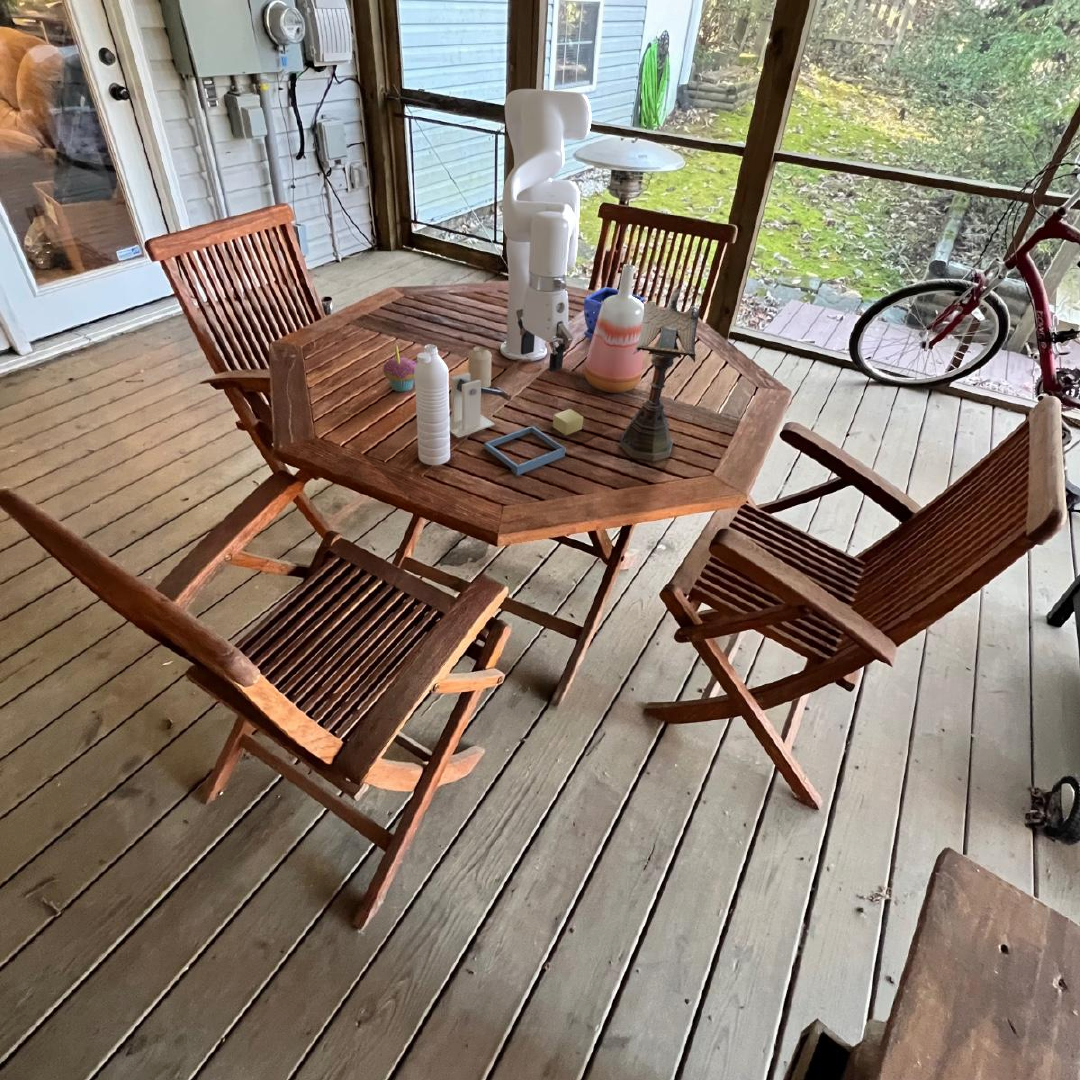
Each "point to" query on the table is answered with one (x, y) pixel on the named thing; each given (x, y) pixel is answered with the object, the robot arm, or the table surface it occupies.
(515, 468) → the dish
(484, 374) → the candle
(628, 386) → the vase
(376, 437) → the table surface
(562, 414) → the butter
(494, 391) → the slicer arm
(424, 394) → the water bottle
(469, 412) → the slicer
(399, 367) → the cupcake
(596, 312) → the flower pot
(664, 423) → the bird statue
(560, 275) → the robot arm
